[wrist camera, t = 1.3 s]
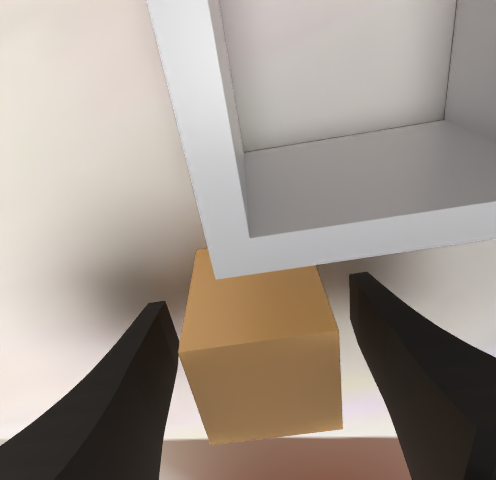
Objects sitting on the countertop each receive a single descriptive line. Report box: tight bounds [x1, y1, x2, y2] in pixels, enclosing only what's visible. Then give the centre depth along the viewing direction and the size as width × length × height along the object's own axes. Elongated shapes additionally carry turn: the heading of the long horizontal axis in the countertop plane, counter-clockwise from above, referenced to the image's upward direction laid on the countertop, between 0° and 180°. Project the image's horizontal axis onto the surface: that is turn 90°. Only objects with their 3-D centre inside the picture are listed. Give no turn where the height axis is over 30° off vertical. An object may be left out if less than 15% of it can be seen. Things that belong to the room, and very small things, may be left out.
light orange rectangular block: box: [178, 248, 343, 445], centre depth 12 cm, size 4×4×5 cm
